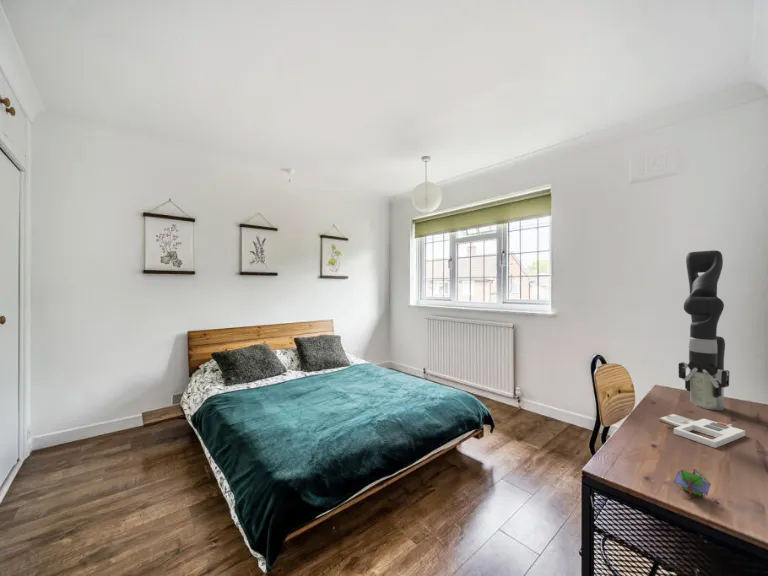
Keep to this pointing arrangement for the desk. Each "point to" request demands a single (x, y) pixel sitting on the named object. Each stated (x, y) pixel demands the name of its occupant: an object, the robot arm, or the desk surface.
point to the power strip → (710, 432)
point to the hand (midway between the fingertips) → (702, 393)
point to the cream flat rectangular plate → (676, 420)
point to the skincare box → (702, 390)
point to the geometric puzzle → (693, 482)
